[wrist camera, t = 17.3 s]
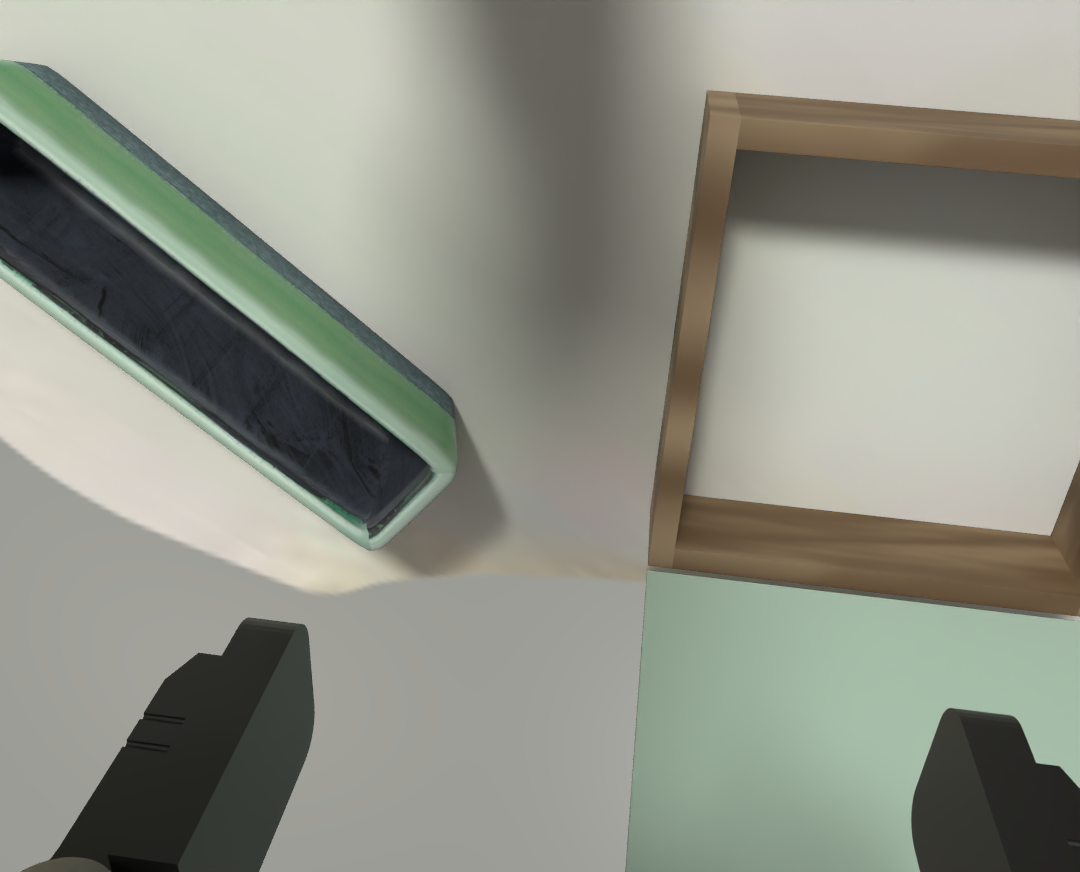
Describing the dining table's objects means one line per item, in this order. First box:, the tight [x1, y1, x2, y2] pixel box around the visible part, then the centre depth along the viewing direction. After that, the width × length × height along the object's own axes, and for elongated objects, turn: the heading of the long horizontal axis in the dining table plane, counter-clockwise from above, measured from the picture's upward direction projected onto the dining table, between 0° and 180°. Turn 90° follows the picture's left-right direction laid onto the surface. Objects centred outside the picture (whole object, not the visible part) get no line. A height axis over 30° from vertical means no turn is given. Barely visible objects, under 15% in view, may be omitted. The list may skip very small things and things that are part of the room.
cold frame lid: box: [626, 570, 1080, 872], centre depth 42 cm, size 22×22×1 cm
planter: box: [0, 60, 457, 550], centre depth 47 cm, size 28×7×7 cm, turn 48°
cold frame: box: [648, 91, 1080, 616], centre depth 46 cm, size 22×22×5 cm
